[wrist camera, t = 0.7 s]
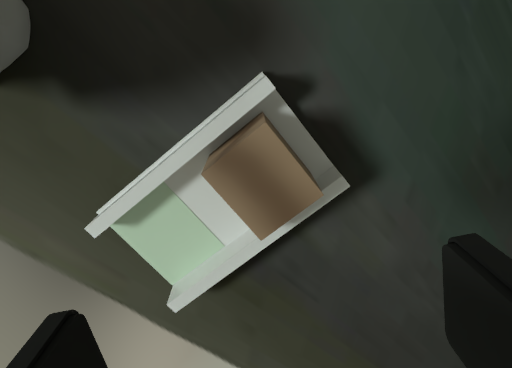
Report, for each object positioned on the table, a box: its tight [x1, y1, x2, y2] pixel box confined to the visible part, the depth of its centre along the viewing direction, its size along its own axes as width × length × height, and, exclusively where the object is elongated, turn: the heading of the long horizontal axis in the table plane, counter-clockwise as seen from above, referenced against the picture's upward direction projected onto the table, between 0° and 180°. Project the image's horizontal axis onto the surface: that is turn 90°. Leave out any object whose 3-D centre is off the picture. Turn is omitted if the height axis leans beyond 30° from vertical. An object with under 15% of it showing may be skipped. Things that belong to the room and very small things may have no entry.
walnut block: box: [201, 112, 324, 241], centre depth 29 cm, size 6×7×6 cm
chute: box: [84, 72, 350, 313], centre depth 32 cm, size 20×12×4 cm, turn 129°
